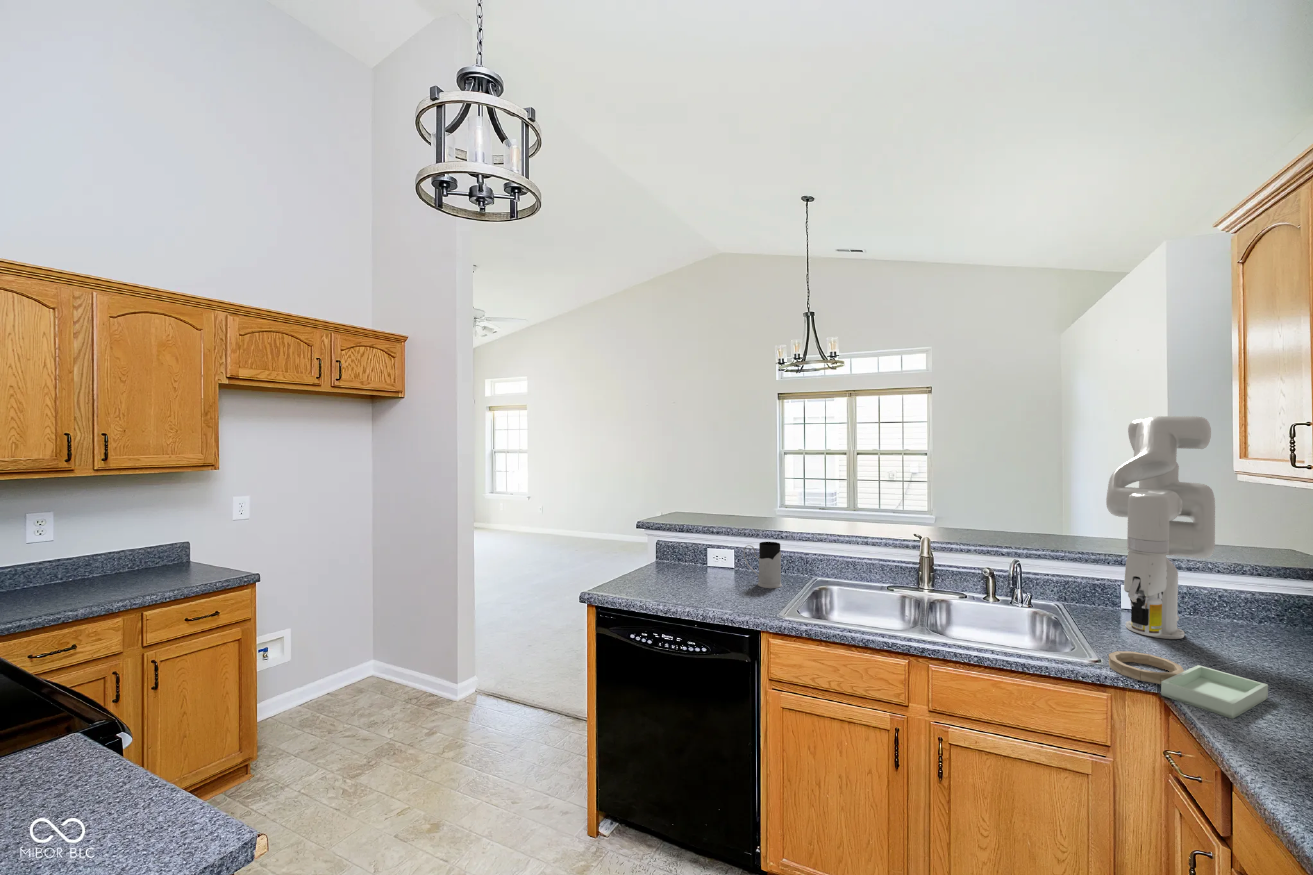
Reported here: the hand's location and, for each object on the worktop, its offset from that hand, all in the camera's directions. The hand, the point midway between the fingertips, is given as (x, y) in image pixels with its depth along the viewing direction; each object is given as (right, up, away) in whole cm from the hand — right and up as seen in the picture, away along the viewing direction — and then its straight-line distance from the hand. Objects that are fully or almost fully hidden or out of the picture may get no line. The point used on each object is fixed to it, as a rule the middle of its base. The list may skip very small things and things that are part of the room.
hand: (1146, 620), depth 140 cm
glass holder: (-77, -10, +76) cm, 109 cm away
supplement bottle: (0, -3, 0) cm, 3 cm away
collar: (0, -12, 0) cm, 12 cm away
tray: (+4, -12, -13) cm, 18 cm away
